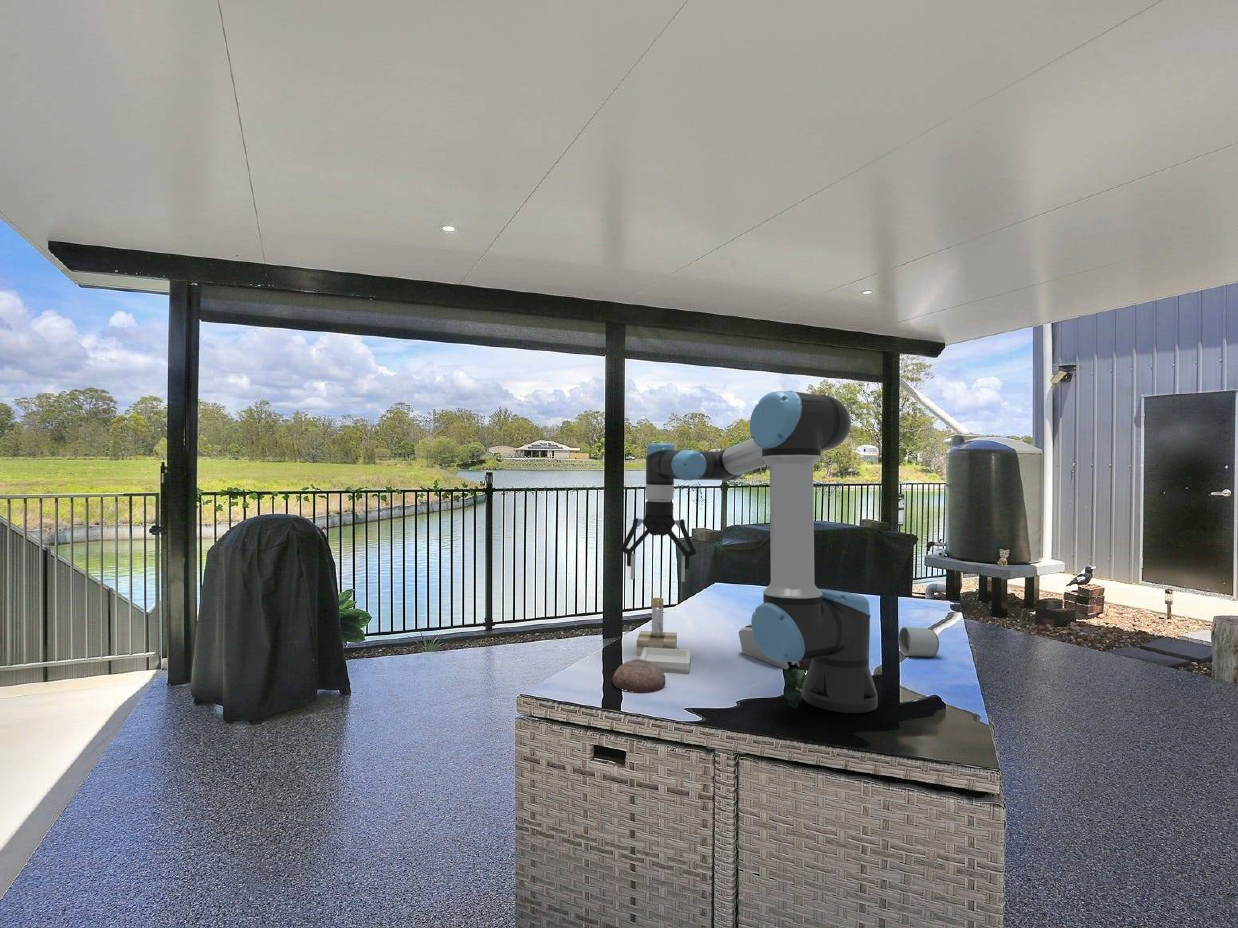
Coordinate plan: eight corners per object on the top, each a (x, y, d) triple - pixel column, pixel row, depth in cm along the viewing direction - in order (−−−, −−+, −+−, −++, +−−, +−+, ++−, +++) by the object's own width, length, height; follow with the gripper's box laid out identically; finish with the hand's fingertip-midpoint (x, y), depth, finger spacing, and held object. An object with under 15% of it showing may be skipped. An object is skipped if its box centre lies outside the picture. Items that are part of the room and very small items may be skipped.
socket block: (674, 657, 169) (675, 642, 169) (636, 655, 171) (636, 640, 171) (676, 647, 179) (676, 632, 179) (640, 645, 180) (640, 630, 181)
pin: (662, 653, 173) (663, 600, 173) (651, 652, 174) (651, 599, 174) (663, 650, 176) (663, 598, 176) (651, 649, 177) (652, 597, 177)
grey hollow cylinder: (941, 659, 171) (941, 630, 172) (910, 659, 171) (910, 629, 172) (921, 649, 182) (921, 621, 182) (892, 649, 182) (892, 621, 182)
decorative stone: (622, 674, 155) (622, 651, 155) (671, 680, 151) (671, 656, 151) (604, 690, 144) (605, 664, 144) (657, 696, 140) (657, 670, 140)
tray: (689, 673, 156) (689, 663, 156) (639, 670, 157) (639, 660, 157) (690, 659, 168) (690, 649, 168) (643, 656, 169) (643, 647, 169)
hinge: (800, 666, 163) (791, 630, 162) (787, 675, 161) (777, 638, 160) (756, 650, 178) (747, 616, 176) (743, 657, 176) (733, 624, 174)
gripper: (706, 501, 177) (704, 579, 177) (615, 498, 181) (613, 575, 181) (706, 502, 170) (704, 584, 170) (611, 499, 173) (609, 580, 173)
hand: (657, 579), depth 175 cm, fingers open, 13 cm apart
